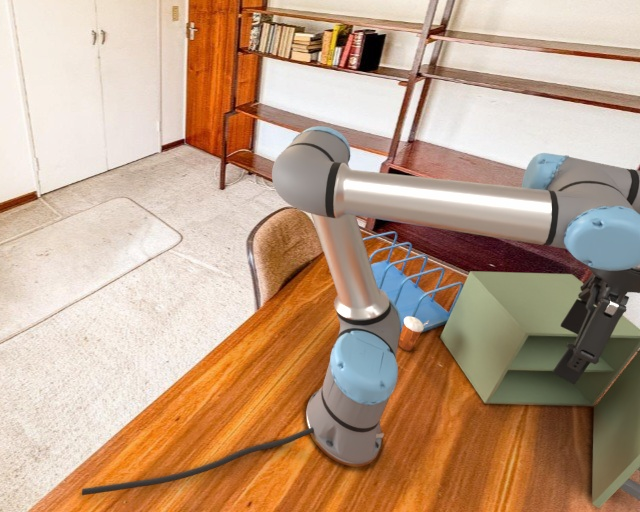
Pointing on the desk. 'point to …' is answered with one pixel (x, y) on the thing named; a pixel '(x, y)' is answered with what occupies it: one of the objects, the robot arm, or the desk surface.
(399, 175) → the robot arm
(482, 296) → the cupboard
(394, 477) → the desk surface
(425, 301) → the file sorter
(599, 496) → the door
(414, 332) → the milkshake
